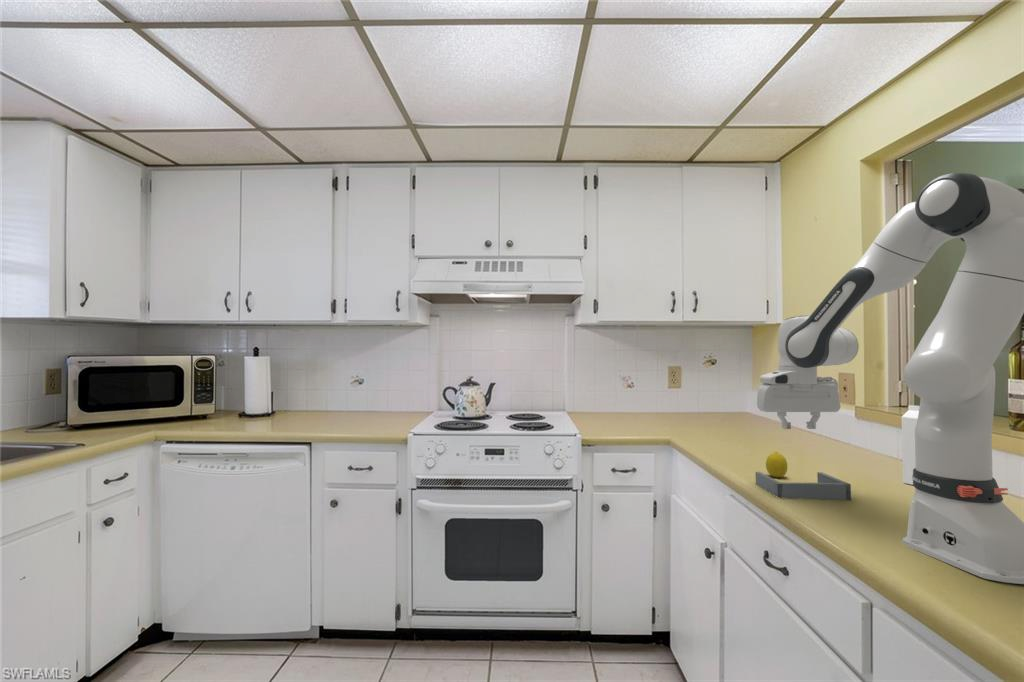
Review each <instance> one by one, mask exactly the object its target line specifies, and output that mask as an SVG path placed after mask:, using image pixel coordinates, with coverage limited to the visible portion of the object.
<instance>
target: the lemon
mask: <svg viewBox="0 0 1024 682" xmlns="http://www.w3.org/2000/svg"><path fill="white" fill-rule="evenodd" d="M765 468H766V471H767V473H768V474H769V475H770V476H772V477H773V478H776V479H779V478H782V477H784V476H785V475H786V474H787V473H788V462H787V460H786V458H785V456H783V455H782V454H781V453H779V452H778V451H774V452H772V453H771V454H769V455H768V456H767V458H766V462H765Z"/></svg>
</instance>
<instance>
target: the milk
mask: <svg viewBox="0 0 1024 682" xmlns="http://www.w3.org/2000/svg"><path fill="white" fill-rule="evenodd" d="M919 407H920V405H912V404H909V405H908V410H907V411H906V412H905V413H904V414H903V415H902V416H901V448H902V449H901V450H902V451H901V452H902V455H901V456H902V483H904V484H907V485H910V486H911V485H912V486H913V479H912V475H913V469H914V468H916V463H915V427H916V424H917V420H918V414H919Z"/></svg>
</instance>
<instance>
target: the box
mask: <svg viewBox="0 0 1024 682" xmlns="http://www.w3.org/2000/svg"><path fill="white" fill-rule="evenodd" d="M816 474H817V475H816V476H817V482H782V481H781V482H780V481H778V480H777V479H774V477H773V478H772V477H770V476H769V475H767V474H765V473H763V472H761V471H755V484H756V485H757V484H758V485H759V487H760V486H761V487H760V488H762V489H763V488H764V489H763V490H765V489H766V490H767V491H766V490H765V491H766V492H768V493H769V492H770V493H769V494H771V493H772V494H771V495H773V496H774V495H775V496H774V497H776V496H777V497H780V498H779V499H782V498H781V497H784V498H783V499H798V498H803V500H805V499H806V500H809V499H810V500H832V501H833V500H835V501H852V491H851V490H852V488H851V487H852V484H851V483H849V482H847V481H844V480H841V479H839V478H836V477H834V476H832V475H829V474H827V473H824V472H822V471H821V472H820V471H819V472H816ZM758 485H757V486H758ZM777 497H776V498H777ZM785 497H786V498H785Z"/></svg>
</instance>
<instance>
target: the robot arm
mask: <svg viewBox="0 0 1024 682" xmlns="http://www.w3.org/2000/svg"><path fill="white" fill-rule="evenodd" d="M953 239H960V240H961V241H962V242H965V246H966V250H965V254H964V257H963V258H962V261H961V263H960V264H959V266H958V269H957V271H956V273H955V275H954V278H953V280H952V282H951V285H950V286H949V289H948V290H947V293H946V295H945V297H944V300H943V301H942V305H941V306H940V307H939V310H938V312H937V314H936V315H935V317H934V318H933V320H932V322H931V323H930V325H929V326H928V328H927V330H926V331H925V333H924V334H923V336H922V338H921V339H920V341H919V343H918V345H917V346H916V348H915V350H914V351H913V354H912V355H911V357H910V359H909V360H908V362H907V364H906V365H905V366H904V370H903V379H904V383H905V384H906V386H907V388H908V390H910V392H912V393H913V394H914V395H915V396H916V397H918V398H920V400H919V406H920V407H919V414H918V420H917V424H916V427H915V463H916V468H914V469H913V475H912V479H913V485H912V486H913V487H914V488H915V489H914V495H913V497H912V500H911V501H910V504H909V512H908V521H907V522H908V523H907V530H906V531H907V532H906V536H905V537H903V538H902V542H901V544H902V545H903V544H904V545H903V546H905V545H906V547H907V546H908V548H910V547H911V548H910V549H912V548H913V549H912V550H914V549H915V551H917V552H919V553H921V554H924V555H927V556H929V557H931V558H934V559H936V560H939V561H941V562H944V563H946V564H948V565H949V566H953V567H955V568H957V569H960V570H963V571H965V572H967V573H970V574H972V575H974V576H977V577H980V578H981V579H985V580H990V581H996V582H1002V583H1008V584H1019V585H1024V521H1023V520H1022V519H1020V518H1019V517H1018V515H1016V514H1015V512H1013V511H1012V510H1011V509H1010V508H1009V507H1008V506H1007V505H1006V504H1005V503H1004V502H1003V501H1004V497H1003V495H1005V496H1008V495H1009V493H1007V492H1004V491H1008V490H1009V488H1007V487H1000V486H999V485H998V482H997V480H996V479H995V478H994V476H993V474H994V473H993V445H992V443H993V442H992V441H993V439H992V438H993V437H992V436H993V435H992V434H993V425H994V424H993V423H994V411H995V397H996V395H995V393H996V368H995V366H994V364H995V362H996V360H997V358H998V357H999V355H1000V354H1001V352H1002V350H1003V348H1004V347H1005V346H1006V344H1007V343H1008V340H1010V338H1011V336H1012V335H1013V333H1014V332H1015V330H1016V329H1017V327H1018V326H1019V323H1020V321H1021V320H1022V317H1023V315H1024V190H1021V189H1016V188H1014V187H1012V186H1010V185H1007V184H1006V183H1004V182H1002V181H999V180H998V179H997V180H996V179H992V178H988V177H984V176H978V175H976V174H972V173H967V172H952V173H946V174H943V175H939V176H938V177H936V178H934V179H932V180H930V182H929V183H927V184H926V185H925V186H924V187H923V188H922V189H921V190H920V192H919V194H918V195H917V198H916V200H915V201H912V202H909V203H906V204H905V205H904V206H902V207H901V209H900V210H898V212H897V213H895V215H893V217H892V218H891V219H890V220H889V221H888V222H887V223H886V225H885V226H884V227H883V228H881V231H880V232H879V233H878V235H877V236H876V237H875V239H874V240H873V241H872V242H871V244H870V246H869V247H868V248H867V250H865V252H864V253H863V255H862V256H861V257H860V258H859V260H858V261H857V262H856V263H855V264H854V265H853V266H852V268H851V269H849V271H848V272H846V273H845V274H844V276H842V277H841V278H840V280H838V282H837V283H836V284H835V285H834V286H833V288H831V290H830V291H829V292H828V294H827V295H826V296H825V297H824V298H823V299H822V301H821V302H820V303H819V304H818V306H817V307H816V308H815V310H813V312H812V313H811V314H810V315H799V316H798V315H797V316H792V317H789V318H786V319H784V320H782V321H781V323H780V325H779V328H778V336H777V338H778V339H777V340H778V341H777V348H778V349H777V350H778V354H779V362H778V369H777V370H774V371H771V372H768V373H764V374H761V375H760V376H759V382H760V383H761V384H760V385H759V387H758V389H757V397H756V405H757V409H758V410H759V411H760V412H765V413H776V415H777V417H778V419H779V420H780V422H781V428H782V429H784V430H791V429H792V427H791V426H792V424H791V422H790V421H788V420H787V419H786V417H787V413H810V416H811V418H810V420H809V421H806V429H808V430H816V429H817V422H818V421H819V419H820V418H821V413H838V412H839V411H840V409H841V400H840V394H839V393H840V392H839V383H838V381H837V380H836V379H835V378H833V377H832V376H818V367H826V366H827V367H829V366H841V365H844V364H849V363H850V362H852V361H853V360H854V359H855V358H856V356H857V354H858V352H859V341H858V338H857V336H856V335H855V334H854V333H853V332H851V330H849V329H846V328H842V327H841V326H842V325H843V323H845V321H846V320H847V319H848V318H849V316H850V315H851V314H852V313H853V312H854V311H855V310H856V309H857V308H858V307H859V306H861V304H863V303H864V302H867V301H868V300H870V299H872V298H875V297H877V296H880V295H884V294H886V293H891V292H894V291H897V290H900V289H902V288H905V287H906V286H907V285H908V284H909V283H910V282H912V281H913V280H914V279H915V278H916V277H917V276H918V275H920V273H921V271H922V270H923V269H924V268H925V267H926V265H927V264H928V262H929V261H930V260H931V259H932V257H933V256H934V254H935V253H936V251H938V250H939V248H940V247H941V246H942V245H944V244H945V243H946V242H948V241H951V240H953Z"/></svg>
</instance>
